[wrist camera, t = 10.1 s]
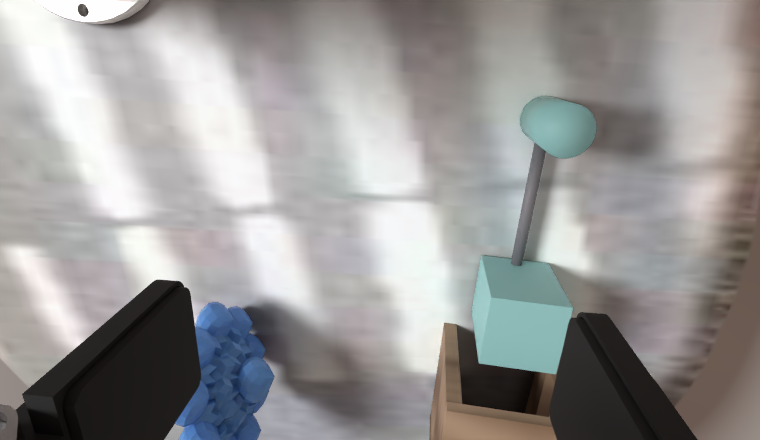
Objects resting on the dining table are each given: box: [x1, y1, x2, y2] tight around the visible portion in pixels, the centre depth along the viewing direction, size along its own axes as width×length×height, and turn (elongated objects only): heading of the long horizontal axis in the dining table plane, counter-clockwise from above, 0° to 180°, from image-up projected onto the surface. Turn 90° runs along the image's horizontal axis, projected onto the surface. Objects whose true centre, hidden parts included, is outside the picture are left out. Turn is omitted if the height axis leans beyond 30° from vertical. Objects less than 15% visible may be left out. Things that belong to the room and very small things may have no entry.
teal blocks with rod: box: [472, 96, 597, 374], centre depth 29 cm, size 17×5×6 cm, turn 176°
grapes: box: [175, 302, 274, 440], centre depth 33 cm, size 12×7×12 cm, turn 16°
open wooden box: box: [430, 323, 562, 440], centre depth 33 cm, size 10×9×10 cm
